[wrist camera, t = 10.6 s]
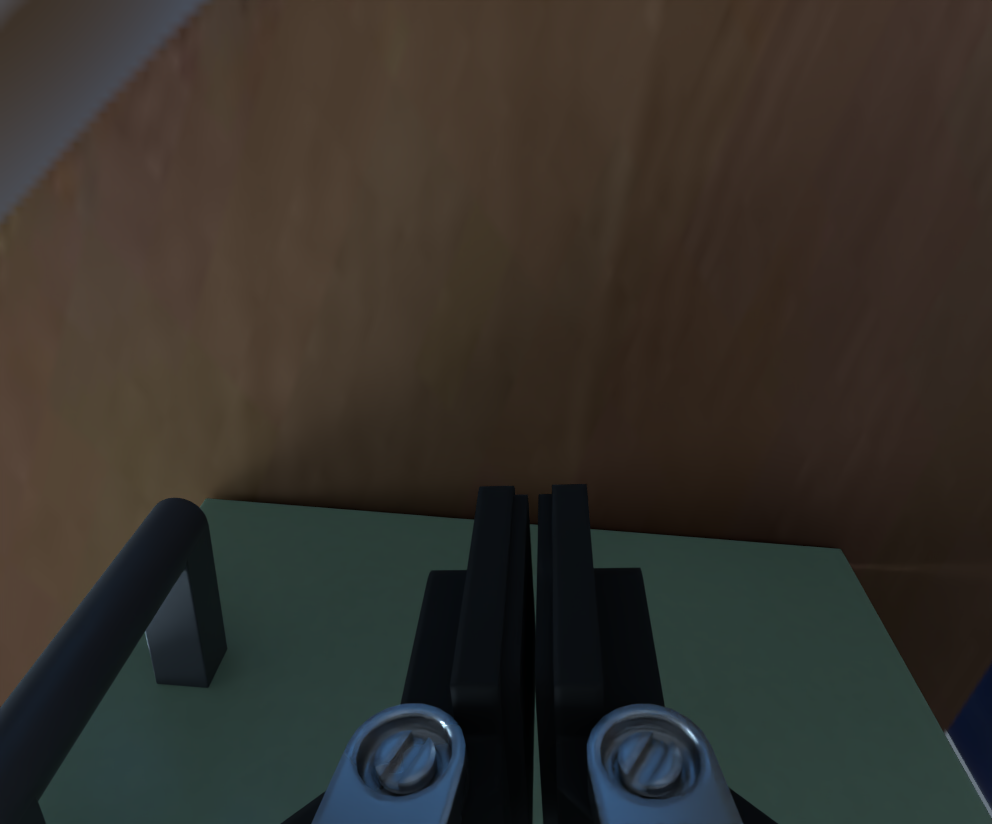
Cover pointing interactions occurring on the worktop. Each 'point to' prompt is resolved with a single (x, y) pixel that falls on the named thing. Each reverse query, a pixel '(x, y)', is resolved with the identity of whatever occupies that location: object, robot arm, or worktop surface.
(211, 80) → the worktop surface
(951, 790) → the cupboard door
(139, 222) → the worktop surface
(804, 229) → the worktop surface
